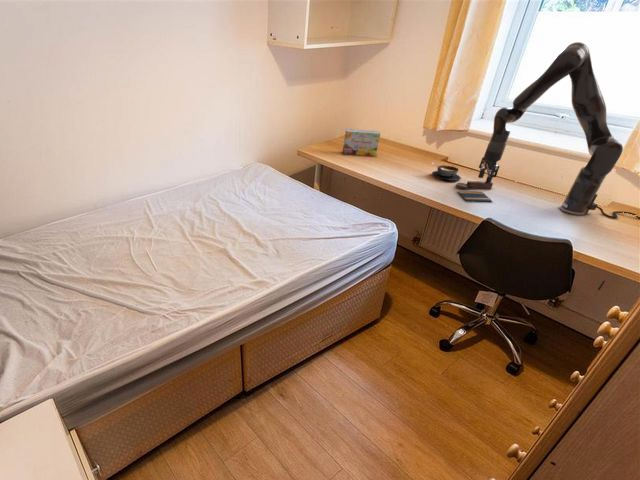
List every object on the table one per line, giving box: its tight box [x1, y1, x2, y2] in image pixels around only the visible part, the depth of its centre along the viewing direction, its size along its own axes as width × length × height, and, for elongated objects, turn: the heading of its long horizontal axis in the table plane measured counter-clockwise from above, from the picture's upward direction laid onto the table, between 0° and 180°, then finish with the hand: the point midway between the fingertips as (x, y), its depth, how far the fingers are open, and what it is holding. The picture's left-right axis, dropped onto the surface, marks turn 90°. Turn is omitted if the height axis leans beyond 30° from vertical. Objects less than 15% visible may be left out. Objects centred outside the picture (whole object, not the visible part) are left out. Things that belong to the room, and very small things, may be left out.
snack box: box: [342, 128, 381, 158], centre depth 243 cm, size 21×6×15 cm, turn 75°
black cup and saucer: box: [431, 162, 462, 181], centre depth 211 cm, size 15×16×7 cm
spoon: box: [455, 180, 494, 191], centre depth 199 cm, size 17×6×3 cm, turn 85°
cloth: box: [456, 190, 493, 203], centre depth 190 cm, size 12×11×1 cm
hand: (483, 180), depth 198 cm, fingers open, 8 cm apart
